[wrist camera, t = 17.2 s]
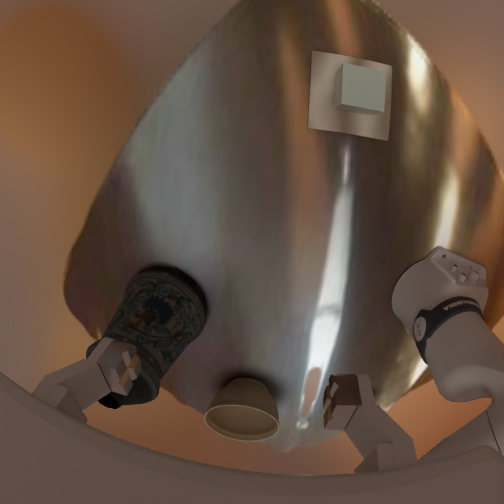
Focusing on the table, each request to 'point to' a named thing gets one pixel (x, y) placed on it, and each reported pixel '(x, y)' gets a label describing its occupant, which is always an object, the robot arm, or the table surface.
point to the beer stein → (155, 327)
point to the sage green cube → (360, 89)
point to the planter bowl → (243, 411)
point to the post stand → (324, 92)
